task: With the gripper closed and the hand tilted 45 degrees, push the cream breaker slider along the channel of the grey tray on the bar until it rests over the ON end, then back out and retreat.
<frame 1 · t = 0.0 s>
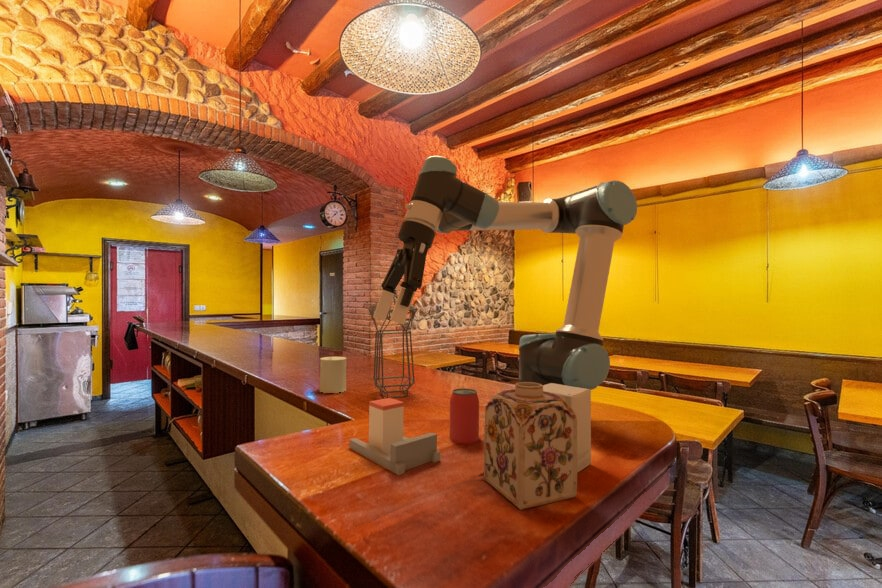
hand: (387, 320, 81), 28 cm above the worktop, tool tilted 20°, fingers open, 13 cm apart
breaker slider: (386, 426, 80), point 6 cm above the worktop, slide at 0.0 cm
grey tray: (395, 462, 78), on the worktop
decorative jar: (528, 489, 68), on the worktop
supplement box: (560, 465, 78), on the worktop
can: (332, 391, 140), on the worktop
geometric lantern: (391, 395, 134), on the worktop
beer can: (463, 445, 88), on the worktop
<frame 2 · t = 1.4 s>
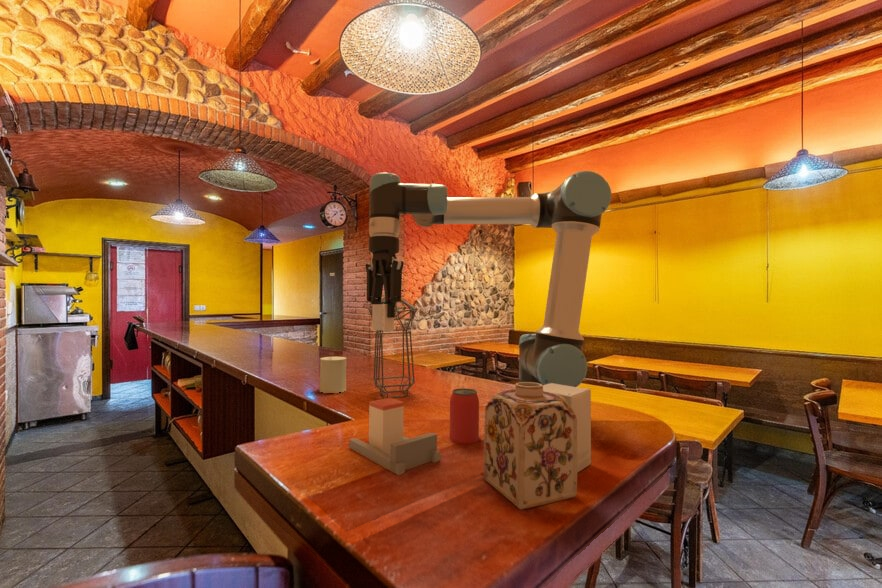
hand: (382, 330, 98), 25 cm above the worktop, tool pointing down, fingers open, 4 cm apart
nothing on the worktop moved.
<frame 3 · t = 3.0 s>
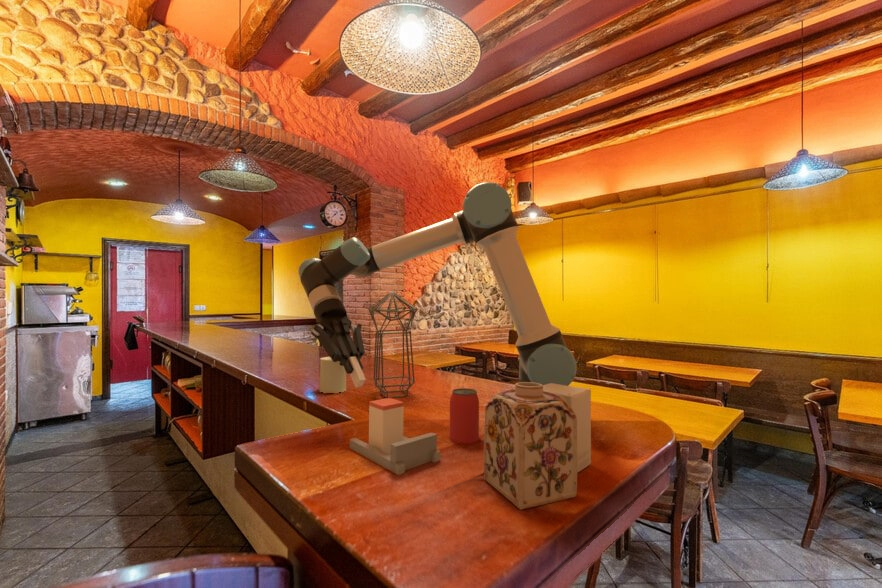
hand: (360, 383, 88), 14 cm above the worktop, tool tilted 45°, fingers closed
nothing on the worktop moved.
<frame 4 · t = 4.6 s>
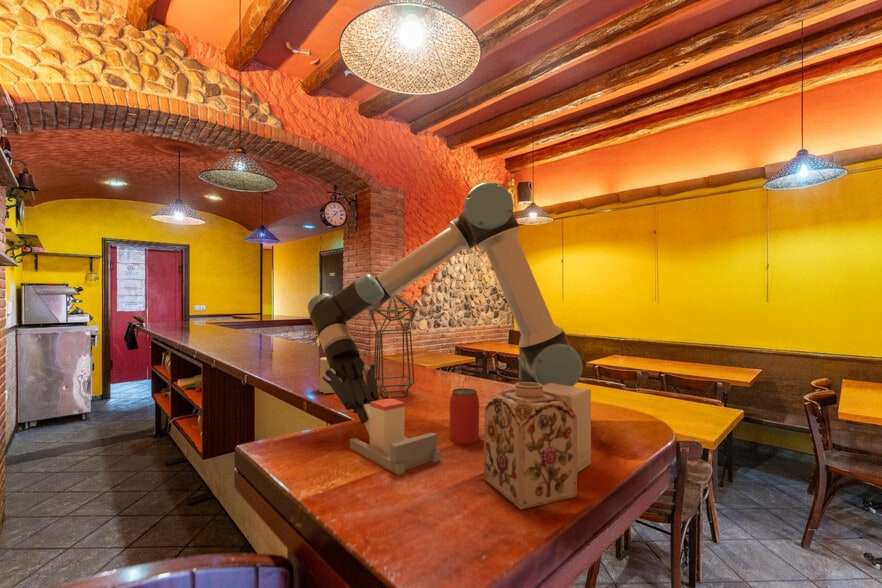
hand: (376, 433, 83), 4 cm above the worktop, tool tilted 45°, fingers closed
breaker slider: (387, 426, 80), point 6 cm above the worktop, slide at 0.4 cm, touching gripper
everything else where it was.
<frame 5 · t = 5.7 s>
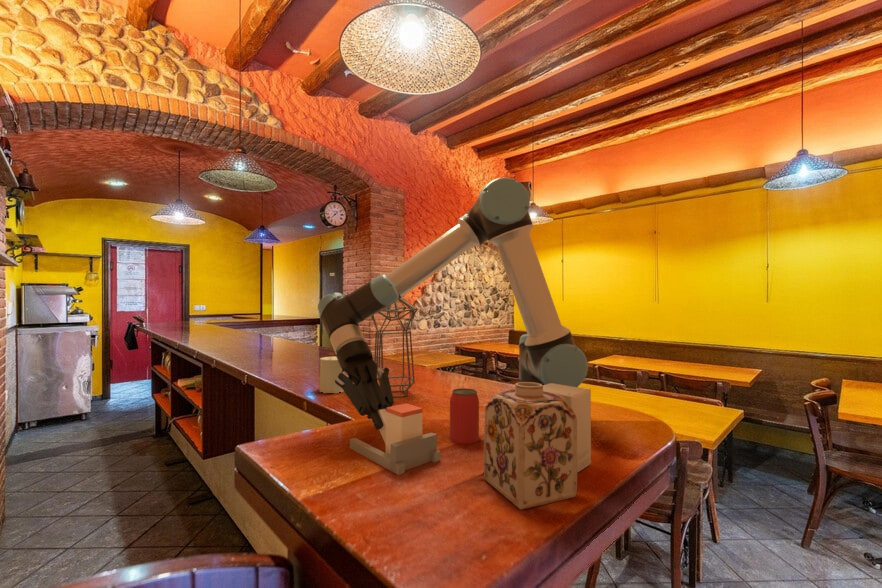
hand: (391, 441, 78), 4 cm above the worktop, tool tilted 45°, fingers closed
breaker slider: (404, 433, 76), point 6 cm above the worktop, slide at 6.0 cm, touching grey tray, gripper
everything else where it was.
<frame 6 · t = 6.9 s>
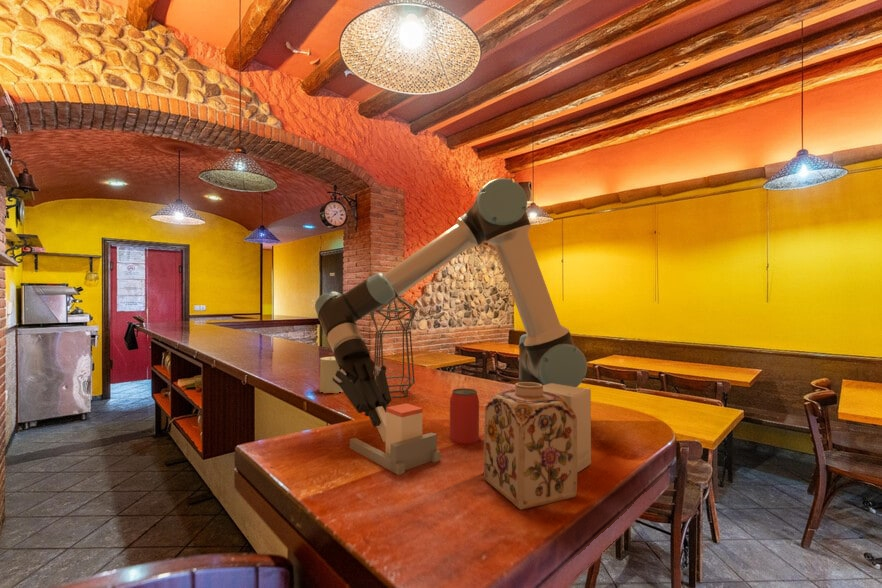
hand: (389, 437, 79), 4 cm above the worktop, tool tilted 45°, fingers closed
breaker slider: (404, 433, 76), point 6 cm above the worktop, slide at 6.0 cm
everything else where it was.
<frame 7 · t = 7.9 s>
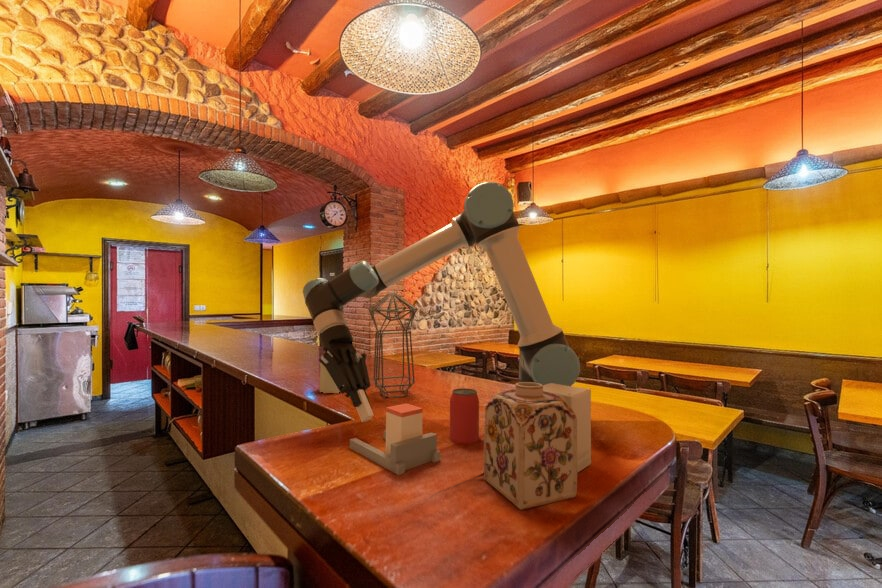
hand: (367, 418, 87), 6 cm above the worktop, tool tilted 40°, fingers closed
nothing on the worktop moved.
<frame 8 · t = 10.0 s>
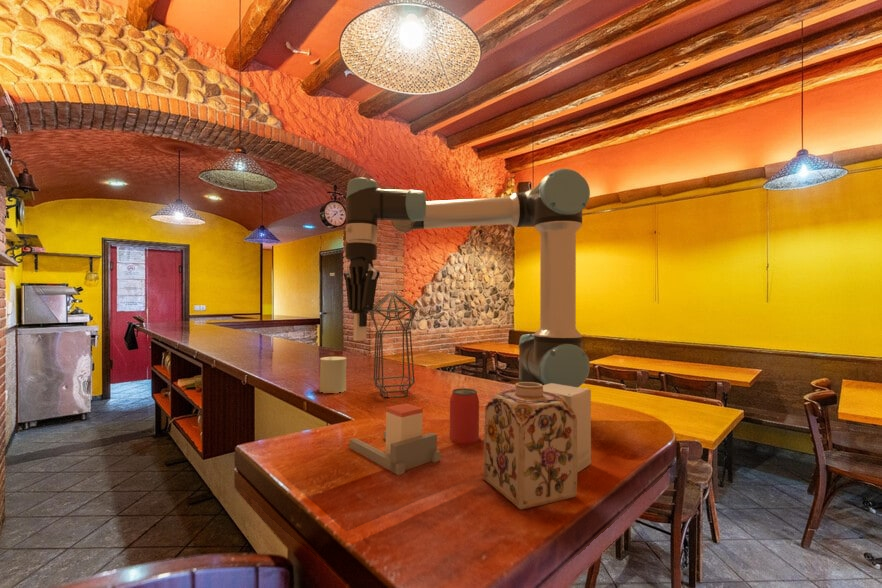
hand: (359, 340, 96), 22 cm above the worktop, tool pointing down, fingers closed
nothing on the worktop moved.
at the end: breaker slider slide at 6.0 cm; breaker slider touching nothing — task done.
